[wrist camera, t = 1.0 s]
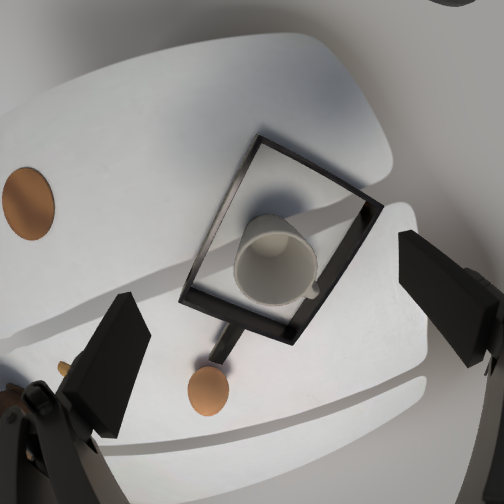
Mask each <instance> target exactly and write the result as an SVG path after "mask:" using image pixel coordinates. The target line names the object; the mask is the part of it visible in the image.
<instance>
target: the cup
mask: <svg viewBox="0 0 504 504" xmlns="http://www.w3.org/2000/svg"><path fill="white" fill-rule="evenodd" d="M317 268H318V265H317V258H316V255H315V253H314V250H313V248H312V247H311V246H310V244H309V243H308V242H307V241H306V240H305V239H304V238H303V237H302V236H301V234H299V233H298V231H297V230H296V229H295V228H294V227H293V226H292V225H290V224H289V223H288V222H287V221H286V220H284V219H283V218H281V217H279V216H276V215H270V214H266V215H261V216H259V217H257V218H255V219H253V220H252V221H251V222H250V223H249V224H248V226H247V227H246V229H245V231H244V234H243V236H242V239H241V241H240V245H239V248H238V251H237V255H236V258H235V262H234V278H235V282H236V284H237V286H238V288H239V289H240V291H241V292H242V293H243V294H244V295H245V296H246V297H247V298H248V299H250V300H252V301H254V302H256V303H258V304H261V305H265V306H281V305H286V304H289V303H291V302H294V301H296V300H298V299H299V298H300V297H307V298H309V299H314V298H315V297H316V296H317V295H318V294H319V291H320V290H319V287H318V285H317V283H316V281H315V278H316V274H317Z"/></svg>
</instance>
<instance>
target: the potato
mask: <svg viewBox="0 0 504 504" xmlns="http://www.w3.org/2000/svg"><path fill="white" fill-rule="evenodd" d="M69 368H70V365H68V364H66V363H64V362H60V363H59V364H58V371H59V372H60V374H62V375H63V376H64V377H65V375H67V374H66V373H67V371H68V370H69Z"/></svg>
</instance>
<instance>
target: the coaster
mask: <svg viewBox="0 0 504 504" xmlns="http://www.w3.org/2000/svg"><path fill="white" fill-rule="evenodd" d="M2 205H3V211H4V215H5V217H6V220H7V222H8V224H9V226H10V227H11V228H12V230H13V231H14V232H15V233H16V234H17V235H18V236H20V237H21V238H23V239H26V240H38V239H40V238H41V237H43V236H44V235H45V234H46V233H47V232H48V231H49V229H50V228H51V225H52V223H53V219H54V210H55V208H54V199H53V195H52V192H51V189H50V187H49V185H48V183H47V181H46V180H45V178H44V177H43V176H42V175H41V174H40V173H39V172H37V171H36V170H34V169H31V168H21V169H18V170H16V171H14V172H13V173H12V174H11V175H10V176H9V177H8V179H7V181H6V183H5V185H4V189H3V194H2Z"/></svg>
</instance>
